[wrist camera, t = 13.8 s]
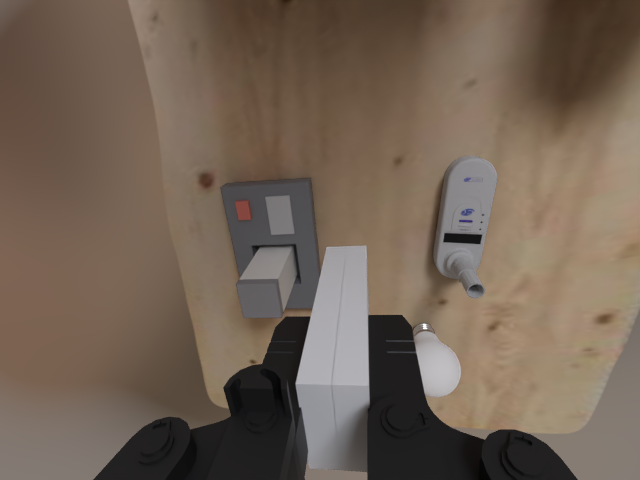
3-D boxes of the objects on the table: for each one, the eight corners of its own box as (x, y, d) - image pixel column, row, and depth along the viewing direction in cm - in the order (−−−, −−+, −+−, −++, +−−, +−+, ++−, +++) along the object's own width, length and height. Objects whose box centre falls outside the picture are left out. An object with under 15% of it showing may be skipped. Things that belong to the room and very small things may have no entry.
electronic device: (532, 172, 30) (497, 314, 36) (494, 155, 39) (471, 271, 45) (469, 170, 31) (445, 310, 36) (446, 154, 40) (429, 268, 45)
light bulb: (433, 301, 47) (452, 359, 37) (454, 335, 49) (477, 399, 39) (390, 320, 49) (397, 379, 39) (412, 351, 51) (423, 416, 41)
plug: (261, 245, 46) (236, 284, 37) (293, 244, 46) (275, 283, 36) (266, 274, 48) (243, 317, 39) (297, 273, 47) (281, 317, 38)
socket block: (226, 183, 43) (218, 188, 41) (310, 177, 42) (307, 183, 40) (250, 300, 51) (245, 310, 48) (323, 300, 49) (321, 310, 47)
